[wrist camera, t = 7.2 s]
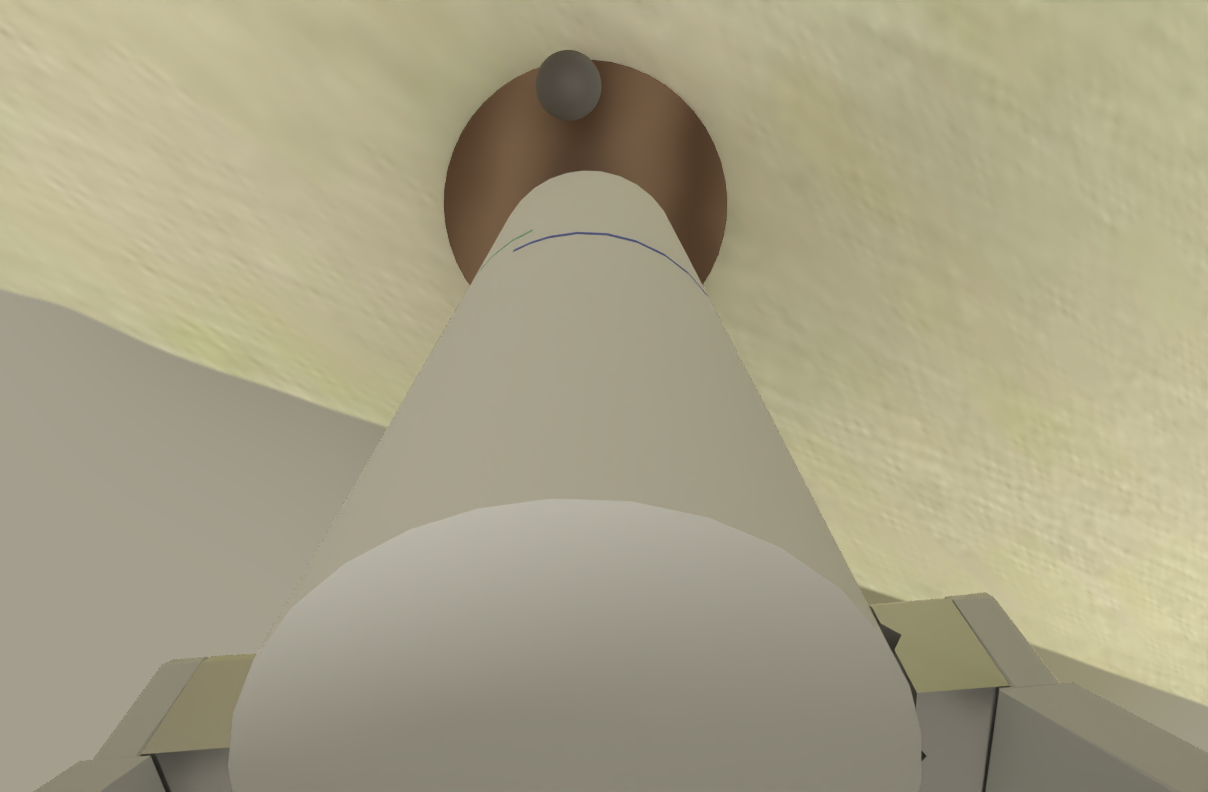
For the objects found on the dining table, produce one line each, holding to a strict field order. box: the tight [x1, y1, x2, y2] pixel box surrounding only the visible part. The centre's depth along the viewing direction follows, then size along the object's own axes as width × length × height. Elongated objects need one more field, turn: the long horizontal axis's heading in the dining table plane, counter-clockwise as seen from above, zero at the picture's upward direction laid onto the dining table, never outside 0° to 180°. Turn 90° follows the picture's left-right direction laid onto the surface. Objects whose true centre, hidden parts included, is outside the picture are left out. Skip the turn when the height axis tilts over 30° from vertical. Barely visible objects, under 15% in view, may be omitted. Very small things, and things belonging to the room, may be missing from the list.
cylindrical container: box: [228, 171, 922, 792], centre depth 20 cm, size 7×7×25 cm
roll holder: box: [444, 50, 727, 285], centre depth 38 cm, size 15×16×12 cm
